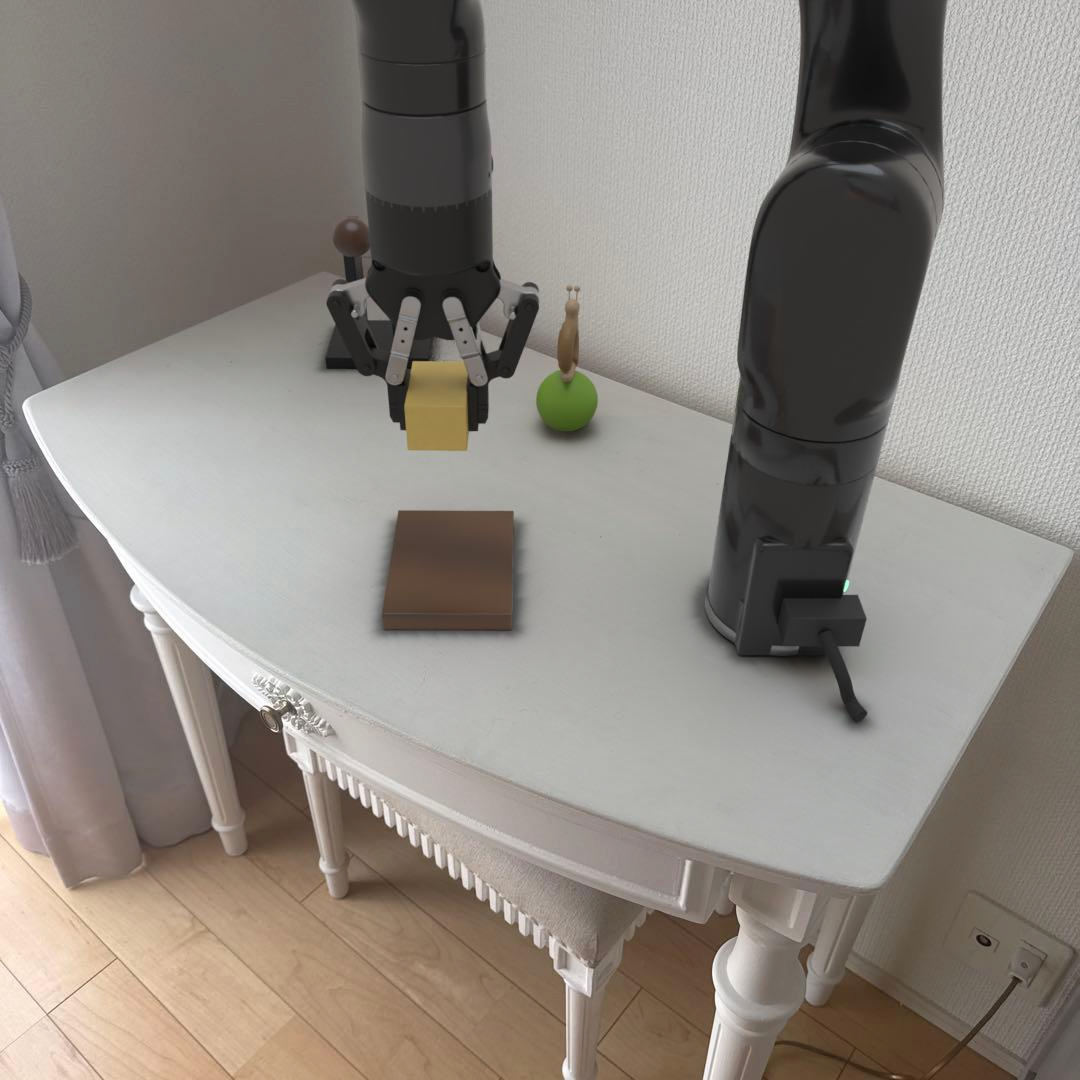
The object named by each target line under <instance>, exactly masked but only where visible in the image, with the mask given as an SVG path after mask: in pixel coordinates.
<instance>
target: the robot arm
mask: <svg viewBox="0 0 1080 1080" xmlns="http://www.w3.org/2000/svg"><path fill="white" fill-rule="evenodd" d="M350 1H351V4H352V7H353V11H354V14H355V21H356V43H357V46H356V47H357V59H358V71H359V81H360V93H361V104H362V105H361V108H362V109H361V110H362V112H361V128H360V129H361V130H360V131H361V132H360V133H361V135H360V137H361V141H360V142H361V143H360V144H361V156H362V170H363V179H364V192H365V200H366V202H365V203H366V213H367V225H368V227H369V237H370V249H371V258H370V259H371V261H370V262H371V264H370V267H369V269H368V271H367V275H366V277H364V278H363V279H360V280H357V281H353V282H350V283H348V282H347V281H346V279H343V278H338V279H335V280H334V281H333V282H332V285H331V288H330V291H329V294H328V297H327V299H326V308H327V309H328V312H329V313H330V316H331V318H332V320H333V322H334V324H336V326H337V328H338V330H339V332H340V334H341V336H342V339H343V341H344V343H345V345H346V347H347V349H348V351H349V353H350V355H351V357H352V359H353V361H354V363H355V366H356V368H355V369H356V370H357V372H358V373H359V374H360V375H362V376H364V377H371V376H377V377H379V378H381V379H383V381H384V382H385V383H386V387H387V398H388V399H387V400H388V411H389V417H390V419H391V421H392V423H394V424H395V423H399V429H400V431H406V421H405V408H404V405H405V400H406V395H407V391H408V386H409V380H410V375H411V369H407V363H408V358H409V355H410V351H411V346H412V342H413V340H424V339H429V338H433V337H434V338H438V339H441V340H444V341H454V342H455V345H456V349H457V352H458V355H459V357H460V359H461V360H462V362H464V364H465V367H466V370H467V373H468V377H467V386H466V389H467V403H468V431H469V432H479V425H480V424H481V425H485V424H486V423H487V421H488V419H489V410H490V401H489V400H490V399H489V398H490V397H489V396H490V395H489V392H490V391H489V383H490V382H491V381H492V380H494V379H497V378H501V379H511V378H512V377H513V376H514V375H515V373H516V370H517V368H518V365H519V362H520V360H521V357H522V354H523V353H524V350H525V346H526V344H527V342H528V339H529V337H530V334H531V331H532V328H533V326H534V323H535V321H536V318H537V315H538V313H539V310H540V289H539V286H538V285H537V284H536V283H534V282H533V281H527V282H524V283H523V284H522V285H520V284H518V283H514V282H511V281H508V280H505V279H502V276H501V273H500V271H499V270H498V268H497V266H496V264H495V261H494V249H493V248H494V246H493V245H494V244H493V242H494V241H493V239H494V237H493V235H494V234H493V171H494V159H493V154H492V135H491V127H490V121H489V114H488V104H487V102H488V101H487V49H486V26H485V25H486V24H485V17H484V16H485V15H484V11H483V10H484V9H483V6H482V2H481V0H350ZM948 1H949V0H798V9H799V24H800V25H799V30H800V43H799V44H800V45H799V65H798V66H799V67H798V79H797V90H796V100H795V110H794V119H793V128H792V134H791V141H790V147H789V152H788V156H787V161H786V163H785V166H784V168H783V170H782V171H781V173H780V174H779V175H778V177H777V178H776V179H775V181H774V183H773V184H772V186H771V187H770V188H769V190H768V192H767V193H766V195H765V196H764V198H763V199H762V202H761V204H760V206H759V209H758V211H757V215H756V218H755V222H754V226H753V230H752V234H751V240H750V246H749V251H748V258H747V264H746V273H745V280H744V289H743V295H742V304H741V313H740V322H739V331H738V339H737V348H736V361H737V368H738V372H739V379H738V386H737V387H738V388H737V395H736V400H735V407H734V413H733V419H732V420H733V421H732V427H731V435H730V439H729V445H728V453H727V460H726V467H725V472H724V473H725V474H724V479H723V486H722V492H721V499H720V506H719V513H718V521H717V526H716V533H715V539H714V540H715V541H714V546H713V553H712V559H711V560H712V562H711V569H710V574H709V582H708V583H707V588H706V592H705V599H704V608H705V612H706V616H707V618H708V620H709V622H710V623H711V624H712V626H713V627H714V629H716V630H717V631H718V632H719V633H720V634H721V635H722V636H723V637H725V638H726V639H727V640H729V641H730V642H732V643H733V644H734V646H735V649H736V652H737V654H738V655H739V656H777V657H778V656H779V657H781V656H783V657H785V656H787V657H789V656H826V658H827V660H828V663H829V665H830V667H831V670H832V672H833V675H834V677H835V681H836V683H837V686H838V690H839V694H840V698H841V701H842V703H843V705H844V707H845V708H846V711H848V712H849V714H850V715H851V716H852V718H854V720H855V721H857V722H858V721H863V720H864V719H865V718H866V717H867V716H868V711H867V710H866V708H864V707H863V705H861V703H860V702H859V700H858V698H857V697H856V694H855V692H854V686H853V682H852V678H851V676H850V673H849V671H848V668H847V665H846V663H845V661H844V658H843V656H842V653H841V650H840V648H839V647H860V645H861V641H862V637H863V634H864V630H865V627H866V623H867V619H868V618H867V615H866V613H865V610H864V607H863V604H862V603H861V600H860V597H859V595H858V594H845V592H846V591H847V589H848V587H849V584H850V581H849V576H850V572H851V569H852V565H853V561H854V557H855V553H856V549H857V545H858V541H859V537H860V534H861V531H862V526H863V522H864V518H865V514H866V510H867V506H868V503H869V499H870V494H871V490H872V488H873V482H874V479H875V475H876V471H877V469H878V468H877V467H878V464H879V460H880V457H881V452H882V449H883V446H884V441H885V437H886V433H887V430H888V426H889V422H890V418H891V415H892V410H893V407H894V403H895V400H896V396H897V393H898V389H899V383H900V378H901V374H902V369H903V364H904V360H905V356H906V353H907V350H908V345H909V341H910V337H911V333H912V330H913V326H914V322H915V319H916V314H917V312H918V311H917V310H918V306H919V303H920V299H921V295H922V291H923V287H924V283H925V279H926V277H927V272H928V268H929V264H930V261H931V256H932V252H933V249H934V245H935V242H936V239H937V236H938V233H939V229H940V226H941V224H942V223H941V222H942V219H943V213H944V208H945V202H946V201H945V200H946V198H945V197H946V195H945V194H946V193H945V163H944V127H943V126H944V124H943V122H944V120H943V118H944V117H943V98H944V97H943V88H944V87H943V86H944V73H943V72H944V44H945V27H946V19H947V8H948ZM368 298H370V299H371V300H372V301H373V302H374V303H375V304H376V305H377V307H378V308H379V309H380V310H381V311H382V312H383V313H384V315H385V316H386V317H387V318H388V320H391V321H392V323H393V324H394V325H395V326H396V331H395V335H394V340H393V344H392V349H391V353H390V352H387V351H384V350H381V349H379V347H378V345H377V342H376V340H375V338H374V336H373V334H372V331H371V329H370V327H369V325H368V323H367V321H366V318H365V316H364V314H365V311H366V307H367V308H368V301H367V299H368ZM497 299H498V300H500V301H501V302H502V304H503V306H502V307H503V311H502V313H503V316H504V317H505V318H506V319H508V322H507V324H506V327H505V330H504V333H503V336H502V338H501V341H500V344H499V346H498V349H496V350H494V351H490V352H487V349H486V345H485V342H484V339H483V336H482V329H481V326H480V323H479V322H480V320H482V318H483V317H484V315H486V313H487V312H488V310H489V309H490V308H491V306H492V305H493V304H494V303H495V302H496V300H497Z"/></svg>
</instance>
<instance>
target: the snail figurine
mask: <svg viewBox="0 0 1080 1080" xmlns="http://www.w3.org/2000/svg"><path fill="white" fill-rule="evenodd" d="M566 291H567V292H568V300H566V302H565V305H564V311H565V317H564V321H563V323H562V324H561V327H560V330H559V332H558V337H557V348H556V349H557V350H556V359H557V365H558V368H559V370H556V371H553V372H551V373H550V374H548V375H547V376H545V378H544V379H543V381H541V383H540V384H539V387H538V389H537V392H536V399H535V403H536V408H537V412H538V414H539V416H540V418H541V419H542V420H543V422H544V423H545V424H546V425H547V426H549V427H551V428H552V429H554V430H557V431H561V432H573V431H577V430H580V429H581V428H584V427H585V426H586V425H587V424H588V423H590V421H591V420H592V419H593V417H594V416H595V414H596V412H597V408H598V403H599V397H598V392H597V389H596V387H595V384H594V383H593V381H592V380H591V379H590V378H589V377H588V376H587V375H586V374H585V373H583V372H581V371H578V370H576V369H577V366H578V364H579V359H580V358H579V357H580V331H579V329H580V328H579V325H580V324H579V314H580V313H579V312H580V307H581V306H580V303H579V301H578V292H580V291H581V286H580V285H575V286H574V287H573V285H571V284H568V285H567V286H566ZM572 291H575V292H576V296H575V298H571V292H572Z"/></svg>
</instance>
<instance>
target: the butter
mask: <svg viewBox="0 0 1080 1080" xmlns="http://www.w3.org/2000/svg"><path fill="white" fill-rule="evenodd" d="M410 373H411V375H410V380H409V386H408V391H407V395H406V400H405V405H404V408H405V421H406V430H405V432H406V433H405V434H406V447H407V451H433V452H435V451H438V452H439V451H441V452H443V451H444V452H467V451H468V445H469V433H470V431H468V403H467V389H466V386H467V377H468V373H467V370H466V367H465V364H464V361H440V360H439V361H436V360H435V361H434V360H433V361H431V360H430V361H413V363H412V368H411V369H410Z"/></svg>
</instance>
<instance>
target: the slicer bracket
mask: <svg viewBox="0 0 1080 1080" xmlns="http://www.w3.org/2000/svg"><path fill="white" fill-rule="evenodd" d="M348 217H349V216H347V217H346V218H348ZM354 217H355V218H358V219H359V217H358V216H354ZM342 255H343V254H342ZM343 266H344V276H345V280H346V281H347V282H348V283H350V282H353V281H357V280H360V279H363V278H365V276H364V267H363V266H364V265H363V257H360V256H359V257H347V256H345V255H343ZM364 316H365V318H366V321H367V323H368V325H369V327H370V329H371V331H372V334H373V336H374V338H375V340H376V342H377V345H378V347H379V349H381V350H384V351H387V352H390V353H391V349H392V344H393V340H394V335H395V331H396V326H395V325H394V324H393V323H392V321H391V320H390V319H385V320H383V319H369V316H368V306H367V307H366V311H365V314H364ZM334 324H335V323H334ZM434 339H435V337H433V338H429V339H424V340H413V342H412V346H411V351H410V355H409V358H408V363H407V370H411V368H412V363H413V361H431V359H432V351H433V345H434ZM324 361H325V368H326V369H357V368H356V366H355V363H354V361H353V359H352V357H351V355H350V353H349V351H348V349H347V347H346V345H345V343H344V341H343V339H342V336H341V334H340V332H339V330H338V328H337V326H336V324H335V325H334V327H333V331H332V334H331V337H330V340H329V343H328V346H327V350H326V353H325V356H324Z"/></svg>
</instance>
